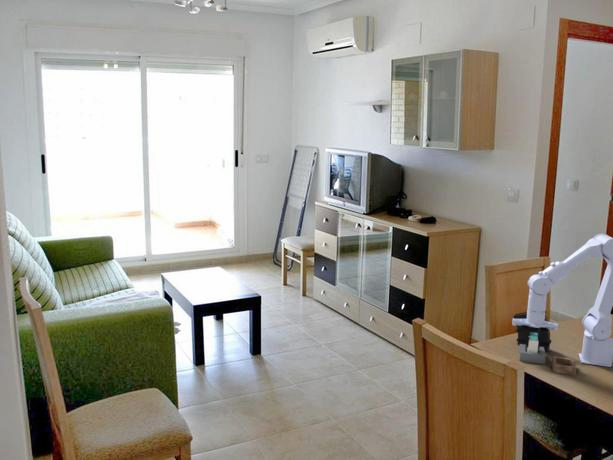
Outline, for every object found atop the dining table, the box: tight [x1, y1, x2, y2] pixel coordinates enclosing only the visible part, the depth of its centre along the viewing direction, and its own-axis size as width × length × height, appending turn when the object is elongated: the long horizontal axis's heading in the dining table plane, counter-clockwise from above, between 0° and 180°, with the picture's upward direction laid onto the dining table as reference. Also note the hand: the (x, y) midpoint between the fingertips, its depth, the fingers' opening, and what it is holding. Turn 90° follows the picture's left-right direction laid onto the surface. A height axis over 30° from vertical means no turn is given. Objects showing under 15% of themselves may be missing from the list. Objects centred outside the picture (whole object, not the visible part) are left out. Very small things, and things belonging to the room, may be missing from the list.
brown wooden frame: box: [550, 355, 576, 376], centre depth 192 cm, size 7×8×2 cm
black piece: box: [512, 309, 552, 352], centre depth 209 cm, size 4×13×15 cm, turn 54°
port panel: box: [518, 344, 546, 365], centre depth 200 cm, size 8×8×3 cm
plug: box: [527, 332, 538, 353], centre depth 199 cm, size 3×4×8 cm
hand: (532, 346), depth 200 cm, fingers closed on plug, 3 cm apart
